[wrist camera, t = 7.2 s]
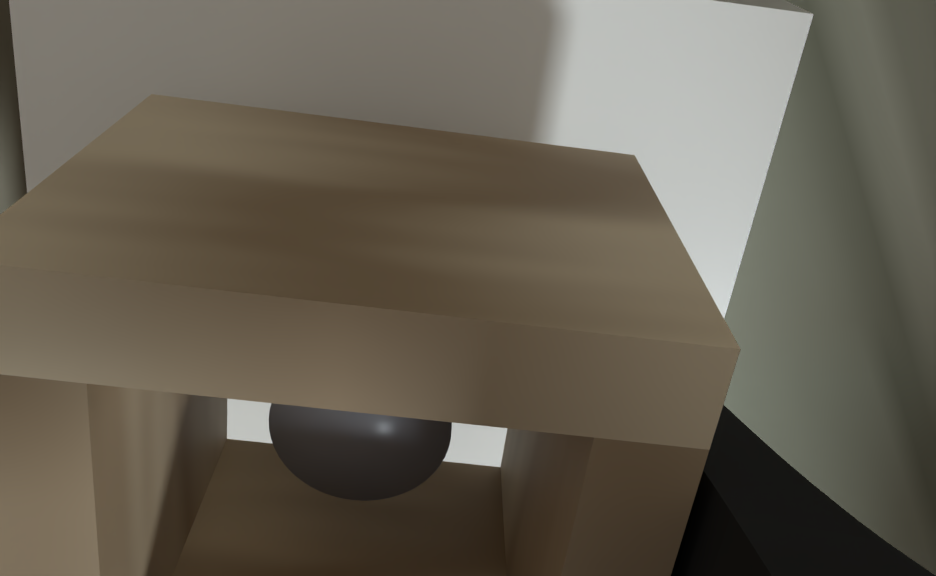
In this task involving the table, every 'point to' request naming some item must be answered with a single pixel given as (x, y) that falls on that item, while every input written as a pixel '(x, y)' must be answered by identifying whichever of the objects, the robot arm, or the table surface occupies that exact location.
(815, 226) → the table surface
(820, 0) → the table surface
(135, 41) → the pin block
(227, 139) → the collar
